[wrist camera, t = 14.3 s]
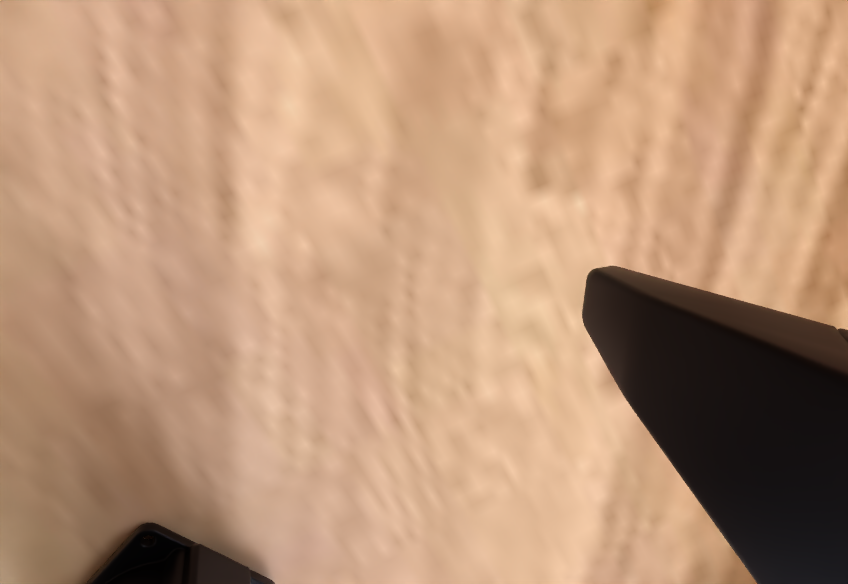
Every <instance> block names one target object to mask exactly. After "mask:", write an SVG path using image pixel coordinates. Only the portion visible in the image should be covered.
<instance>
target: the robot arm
mask: <svg viewBox="0 0 848 584" xmlns="http://www.w3.org/2000/svg"><path fill="white" fill-rule="evenodd" d="M582 318H583V323H584V326H585V328H586V330H587V332H588V333H589V335H590V337H591V339H592V341H593V342H594V344H595V346H596V348H597V349H598V351H599V353H600V355H601V357H602V358H603V360H604V362H605V364H606V366H607V367H608V369H609V371H610V373H611V374H612V376H613V378H614V380H615V382H616V383H617V385H618V387H619V388H620V390H621V392H622V393H623V395H624V397H625V398H626V400H627V401H628V403H629V404H630V406H631V407H632V409H633V410H634V412H635V413H636V414H637V416H638V417H639V419H640V420H641V421H642V423H643V424H644V426H645V427H646V428H647V430H648V431H649V432H650V434H651V435H652V437H653V438H654V439H655V441H656V442H657V444H658V445H659V446H660V448H661V449H662V451H663V452H664V453H665V455H666V456H667V458H668V459H669V460H670V462H671V463H672V465H673V466H674V467H675V469H676V470H677V472H678V473H679V474H680V476H681V477H682V479H683V480H684V481H685V483H686V484H687V486H688V487H689V488H690V490H691V491H692V493H693V494H694V495H695V497H696V498H697V500H698V501H699V502H700V504H701V505H702V507H703V508H704V509H705V511H706V512H707V514H708V515H709V516H710V518H711V519H712V521H713V522H714V523H715V525H716V526H717V528H718V529H719V530H720V532H721V533H722V535H723V536H724V537H725V539H726V540H727V542H728V543H729V544H730V546H731V547H732V549H733V550H734V551H735V553H736V554H737V556H738V557H739V558H740V560H741V561H742V563H743V564H744V565H745V567H746V568H747V570H748V571H749V572H750V574H751V575H752V577H753V578H754V579H755V581H756V582H757V584H848V330H845V329H838V330H837V329H836V328H835V327H834V326H830V325H827V324H823V323H820V322H816V321H812V320H809V319H805V318H802V317H798V316H794V315H791V314H787V313H783V312H780V311H776V310H773V309H769V308H765V307H762V306H758V305H755V304H751V303H747V302H744V301H740V300H736V299H733V298H729V297H726V296H722V295H718V294H715V293H711V292H708V291H704V290H700V289H697V288H693V287H690V286H686V285H682V284H679V283H675V282H671V281H668V280H664V279H661V278H657V277H653V276H650V275H646V274H643V273H639V272H635V271H632V270H628V269H625V268H621V267H617V266H608V267H602V268H596V269H593V270H592V271H590V272H589V274H588V276H587V280H586V288H585V295H584V303H583V310H582ZM148 535H149V536H153V538H152V539H145V538H143V537H144V536H148ZM86 584H275V583H274V582H273V581H272V580H270V579H268V578H266V577H264V576H262V575H260V574H258V573H256V572H254V571H252V570H250V569H249V568H248V567H246V566H244V565H242V564H240V563H238V562H236V561H234V560H232V559H230V558H228V557H226V556H224V555H222V554H220V553H218V552H215V551H213V550H211V549H209V548H207V547H205V546H203V545H201V544H197V543H195V542H193V541H191V540H189V539H187V538H185V537H183V536H181V535H178V534H176V533H174V532H172V531H170V530H168V529H166V528H164V527H162V526H160V525H158V524H155V523H146V524H143V525H141V526H139V527H138V528H137V529H136V530H135V531H134V532H133V533H132V534H131V535H130V537H129V538H128V539H127V540H126V541H125V542H124V543H123V544H122V545H121V546H120V547H119V548H118V550H117V551H116V552H115V553H114V554H113V555H112V556H111V557H110V558H109V559H108V560H107V561H106V562H105V564H104V565H103V566H102V567H101V568H100V569H99V570H98V571H97V572H96V573H95V574H94V575H93V577H92V578H91V579H90V580H89V581H88V582H87V583H86Z"/></svg>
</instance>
